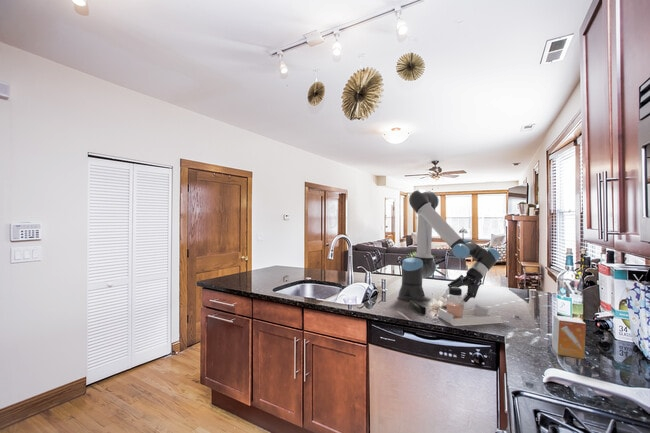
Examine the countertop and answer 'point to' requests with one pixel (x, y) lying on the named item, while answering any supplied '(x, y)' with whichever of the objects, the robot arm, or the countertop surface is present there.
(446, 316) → the white tray
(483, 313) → the pusher
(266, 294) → the countertop surface
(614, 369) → the countertop surface
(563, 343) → the small box
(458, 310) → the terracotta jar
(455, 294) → the medicine bottle
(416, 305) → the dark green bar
